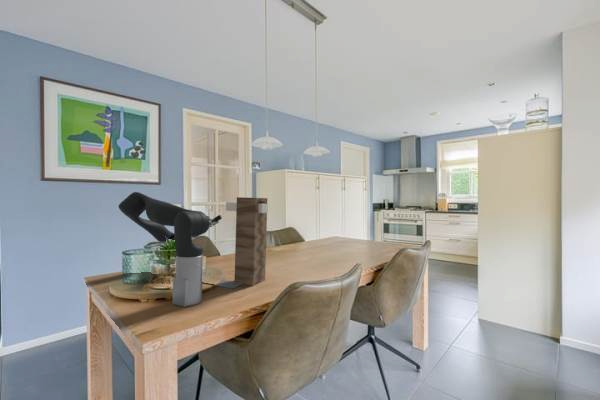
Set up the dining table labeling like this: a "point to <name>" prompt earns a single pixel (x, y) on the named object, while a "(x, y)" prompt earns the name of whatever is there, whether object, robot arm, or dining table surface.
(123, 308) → the dining table surface
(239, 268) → the socket tower
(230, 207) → the plug bar
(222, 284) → the mat
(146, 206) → the robot arm
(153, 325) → the dining table surface
